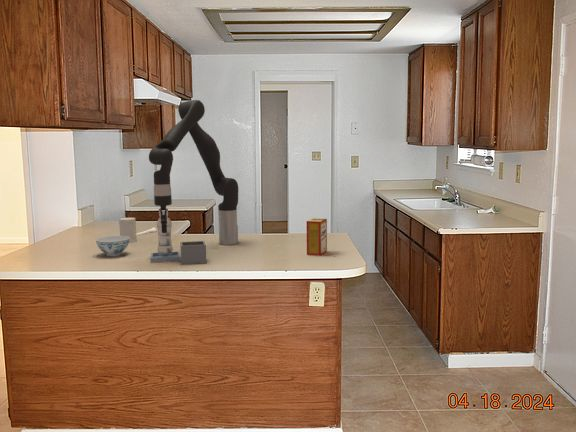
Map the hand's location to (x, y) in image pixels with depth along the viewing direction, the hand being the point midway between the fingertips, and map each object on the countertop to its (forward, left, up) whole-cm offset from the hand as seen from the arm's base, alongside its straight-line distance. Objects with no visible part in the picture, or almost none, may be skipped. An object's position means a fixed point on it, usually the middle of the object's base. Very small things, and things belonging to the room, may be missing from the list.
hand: (164, 231), depth 261 cm
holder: (-12, +8, -13) cm, 19 cm away
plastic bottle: (0, 0, -11) cm, 11 cm away
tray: (0, 0, -13) cm, 13 cm away
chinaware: (+24, -16, -13) cm, 31 cm away
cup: (+19, -49, -13) cm, 54 cm away
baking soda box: (-68, +6, -13) cm, 70 cm away
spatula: (+13, -66, -13) cm, 69 cm away
